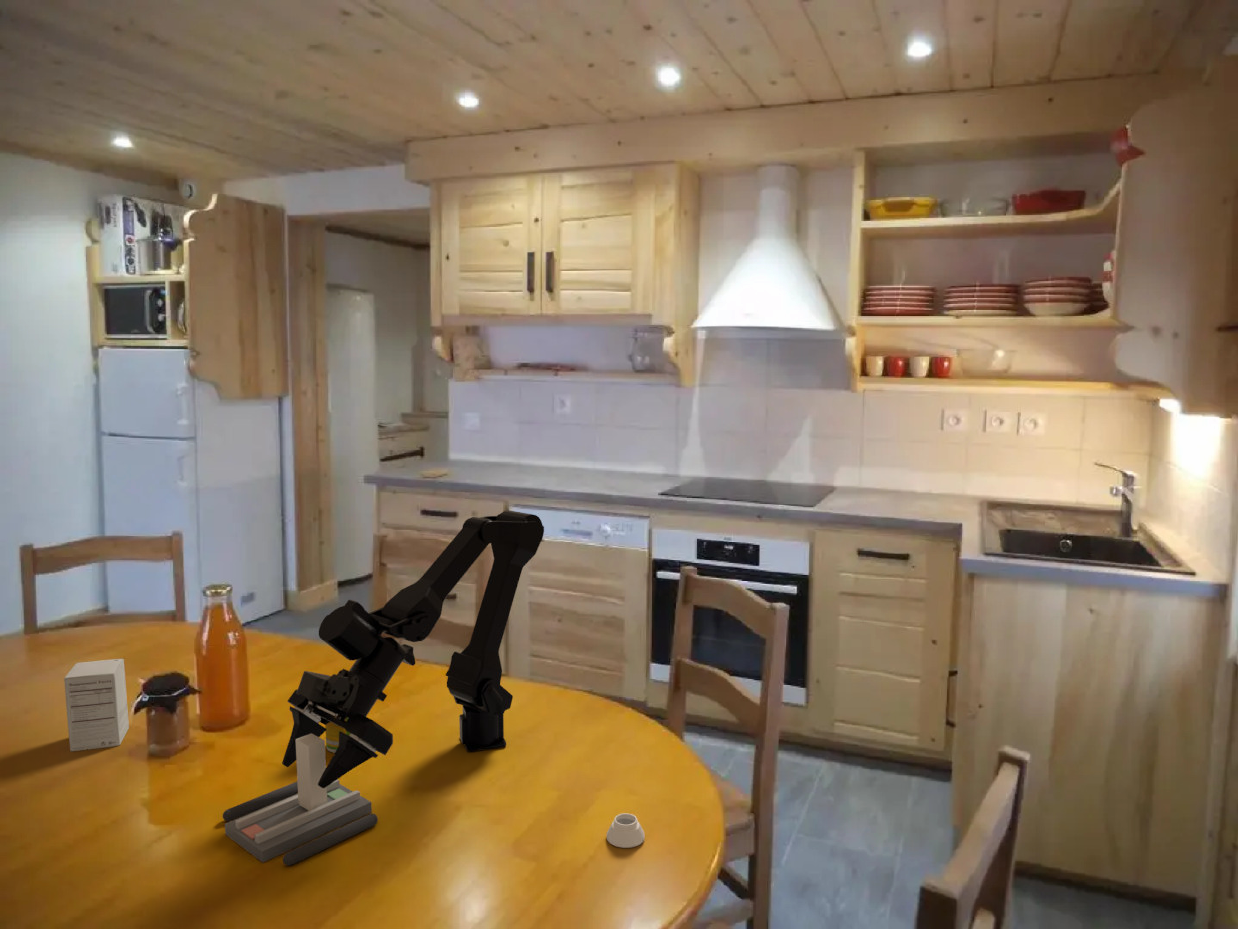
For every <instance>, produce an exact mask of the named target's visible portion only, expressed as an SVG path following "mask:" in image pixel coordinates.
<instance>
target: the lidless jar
mask: <svg viewBox="0 0 1238 929" xmlns="http://www.w3.org/2000/svg"><path fill="white" fill-rule="evenodd" d="M613 819H614V820H613V821H612V823H611V824H610V826H609V828H608V830H607V832H606V840H607V841H608V843H609V844H611V845H613V846H615V847H618V848H623V849H626V848H628V849H629V848H630V849H631V848H634V847H637V846H640V845H641V844H642V843H643V842H644V841H645V837H646V836H645V831H644V830H643V829H644V828H643V827H642V826H641V823H640V822H639V821H638V818H637V816H636V815H635V814H631V813H627V812H626V813H624V812H623V813H619V814H617V815H616V816H615V817H614V818H613Z"/></svg>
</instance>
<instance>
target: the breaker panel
mask: <svg viewBox="0 0 1238 929" xmlns="http://www.w3.org/2000/svg"><path fill="white" fill-rule="evenodd" d="M372 806H373V805H372V801H371V800H369V799H366V797H364V796H362V795H361V792H360V791H359V790H354V791H353V790H351V789H350V788H347V787H346V786H345V785H342V784H341V783H340V780H339V779H337V780H336V781H334V782H333V783H331V784H330V785H328V786H327V803H326V804H324V805H321V806H319V807H317V808H315V809H312V810H310V811H308V810H307V809H305V808H304V807H302V806H300V805H299V804H298V793H297V794H294V795H292V796H290V797H287V798H285V799H282V800H280V801H277V802H275V803H273V804H270V805H268V806H265V807H263V808H261V809H258V810H256V811H253V812H251V813H248V814H246V815H244V816H241V817H239V818H236V819H234V820H231V821H227V822H226V823H224V831H225V832H224V833H225V834H224V835H226V837H228V838H229V839H231V840H232V841H234V842H235V843H236V844H238V845H239V846H240V847H241V848H243V849H244V850H245V851H246V852H248V853H249V854H250V855H252V856H253V857H255V858H256V859H257V860H259V861H260V862H261V863H265V862H268V861H269V860H271V859H273V858H275V857H278V856H279V855H283V854H284V853H285V854H286V853H287V852H289V851H292V850H294V849H296V848H298V847H300V846H302V845H305V844H307V843H309V842H311V841H313V840H315V839H317V838H320V837H322V836H324V835H326V834H328V833H330V832H332V831H335V830H337V829H339V828H341V827H343V826H345V825H348V824H350V823H352V822H354V821H356V820H358V819H360V818H363V817H365V816H367V815H369V814H372V812H373V810H372V808H373V807H372Z"/></svg>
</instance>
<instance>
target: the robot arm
mask: <svg viewBox="0 0 1238 929" xmlns="http://www.w3.org/2000/svg"><path fill="white" fill-rule="evenodd" d="M544 533H545V526H544V525H543V523H542V520H541V519H540V516H538V515H536V514H534V513H533V514H532V513H526V512H521V511H514V510H509V509H508V510H504V511H502V512H501V513H499V514H497V515H484V516H481V517H480V516H479V517H478V516H472V517H469V518H467V519H466V520H465V521H464V523H463V524H462V527H461V529H460V530H459V532H458V533H457V534H456V535H455V537H453V539H452V540H451V541H450V543H449V544H448V545H447V546H446V547H445V549H444V550H443V551H442V552H441V553H440V554H439V556H438V557H437V558H436V559H435V560H434V561H433V563H431V565H430V566H429V568H428V569H427V570H426V571H425V573H424V574H423V575H422V576H421V577H420V578H419V579H418V580H417V581H415V582H414V583H411V584H410V585H408V586H406V587H404V588H402V589H401V590H399V591H398V592H397V593H396V594H394V596H392V597H391V598H390V599H389V600H388V601H386V603H385V604H384V605H383V607H380V608H377V609H375V610H373V611H370V612H368V611H367V610H366V609H365V608H364V606H363V605H362V604H361V603H359V602H358V601H356V600H353V599H348V600H347V602H346V603H345V604H344V605H342V606H339V607H337V608H336V609H334V610H333V611H332V612H330V613H329V614H326V616H325V617H324V618H323V620H322V621H321V623H320V625H319V629H318V637H319V639H321V640H322V642H324V643H326V644H327V645H328V646H329V647H331V648H332V649H333V650H335V651H336V652H337V653H338V654H340V655H341V656H342V657H343V658H345V659H346V660H348V661H354V663H353V664H352V666H351V667H350V669H345V668H342V669H340V670H338V672H337V674H336V673H333V674H332V675H328V674H325V673H324V674H323V673H317V672H314V671H307V670H304V671H303V673H302V676H301V679H300V680H299V681H300V682H299V685H298V687H297V689H294V691H293V692H292V693H291V695H290V697H289V698H288V699H287V702H288V703H289V704H290V705H292V706H294V707H292V706H289V712H291V714H292V719H293V725H292V726H293V727H292V730H291V733H290V734H291V735H290V738H289V739H288V740H289V741H288V743H287V746H286V750H285V753H284V755H283V759H282V762H281V764H282V765H283V766H284V767H286V768H289V767H290V766H291V765H293V764H294V763H295V762H297V761H296V739H297V738H300V737H303V736H306V735H309V734H311V733H312V734H314V735H315V736H317V737H319V738H321V736H322V735H324V733H326V730H327V729H326V728H325V727H324V726H325V725H326V724H328V723H330V722H332V723H334V724H336V725H338V726H340V727H342V728H344V729H345V730H346V731H347V732H349V733H351V734H350V736H349V735H347V734H345V733H343V732H341V731H339V746H338V749H337V750H336V752H335V753H334V754H333V755H332V757H331V759H330V760H329V761H328V764H327V765H326V769H325V771H324V772H323V774H322V776H321V778H320V780H319V782H318V786H320V787H322V788H325V787H327V786H328V785H330V784H331V783H333V782H334V781H336V780H337V779H338V780H339V779H340V778H341V777H343V776H344V775H346V774H348V773H349V772H351V771H353V769H355V768H357V767H358V766H360V765H362V764H364V763H365V762H367V761H369V760H371V759H372V758H375V759H378V756H379V755H378V753H380V754H381V755H384V756H386V755H387V753H388V752H389V750H390V748H392V746H393V744H394V736H393V735H394V734H393V733H391V732H390V731H389V730H387V729H386V728H385V727H384V726H382V725H381V724H379V723H377V722H376V721H374V720H373V719H372V718H369V717H368V715H369V713H370V712H371V710H372V709H373V707H374V705H375V704H376V703H377V701H381V702H385V700H386V698H387V696H388V695H387V694H386V693H384V692H383V691H384V690H385V689H386V687H387V686H388V684H389V683H390V681H391V679H392V678H393V677H394V675H395V673H396V672H397V671H398V669H399V667H400V666H401V665H402V663H404V664H407V665H409V666H413V667H414V666H415V665H416V658H415V655H414V654H415V653H414V647H413V646H411V645H408V644H406V643H404V644H401V643H399V641H397V640H396V639H395V638H397V639H403V640H405V641H408V642H412V643H417V642H423V641H424V640H426V639H427V638H428V637H430V634H431V632H432V631H434V630H433V629H434V628H435V626H436V625H437V623H438V621H439V620H440V618H441V615H442V613H443V612H442V610H443V605H444V602H445V600H446V598H447V597H448V595H449V594H450V593H451V592H452V590H453V589H454V588H455V587H456V586H457V584H459V582H460V581H461V579H462V578H463V577H464V575H466V573H467V572H468V571H469V570H470V568H471V567H472V566H473V565H474V564H475V562H476V560H477V559H478V558H479V557H480V556H481V555H482V553H483V552H484V551H485V550H486V549H487V547H488V546H489V545H490V546H491V551H492V556H493V562H492V566H491V570H490V573H489V576H488V580H487V582H486V587H485V590H484V594H483V596H482V600H481V603H480V606H479V610H478V613H477V616H476V620H475V624H474V627H473V631H472V633H471V638H470V640H469V642H468V643H469V644H468V645H467V646H466V647H465V648H464V649H463V650H462V651H461V652H458V651H454V652H453V653H452V654H451V659H450V664H449V667H448V668H447V669H448V670H447V671H446V672H445V677H447V679H446V688H447V689H448V692H449V694H450V695H451V696H452V698H453V699H454V702H455V704H456V705H460V706H462V713H461V714H459V716H458V718H459V739H460V741H461V744H462V745H464V748H465V750H466V752H469V753H470V752H471V753H472V752H477V751H478V752H479V751H482V750H490V749H496V748H503V747H506V746H507V741H506V739H505V737H504V736H505V735H504V734H505V732H504V731H505V729H504V727H505V726H504V725H505V724H504V714H505V712H506V711H507V710H509V709H511V707H512V702H513V698H514V697H513V696H514V695H513V694H511V693H510V692H509V691H508V690H507V689H505V688H504V687H503V686H502V685H501V681H502V673H503V668H502V663H501V659H500V653H499V652H500V648H501V644H502V640H503V637H504V633H505V631H506V627H507V623H508V620H509V616H510V612H511V610H512V606H513V603H514V602H513V601H514V598H515V595H516V592H517V588H518V585H519V581H520V578H521V575H522V571H523V569H524V567H525V566H526V565H527V564H528V563H529V561H530V560H531V559H533V558H534V556H535V555H536V554H537V552H538V550H539V547H540V545H541V542H542V540H543V538H544ZM382 634H386V635H389V636H385V637H383V636H381V635H382ZM394 637H395V638H394ZM337 714H338V715H337ZM334 717H336V718H337V719H336V718H334ZM346 718H348V720H347V721H345V719H346ZM321 724H322V725H321ZM323 725H324V726H323ZM376 752H378V753H376Z"/></svg>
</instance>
